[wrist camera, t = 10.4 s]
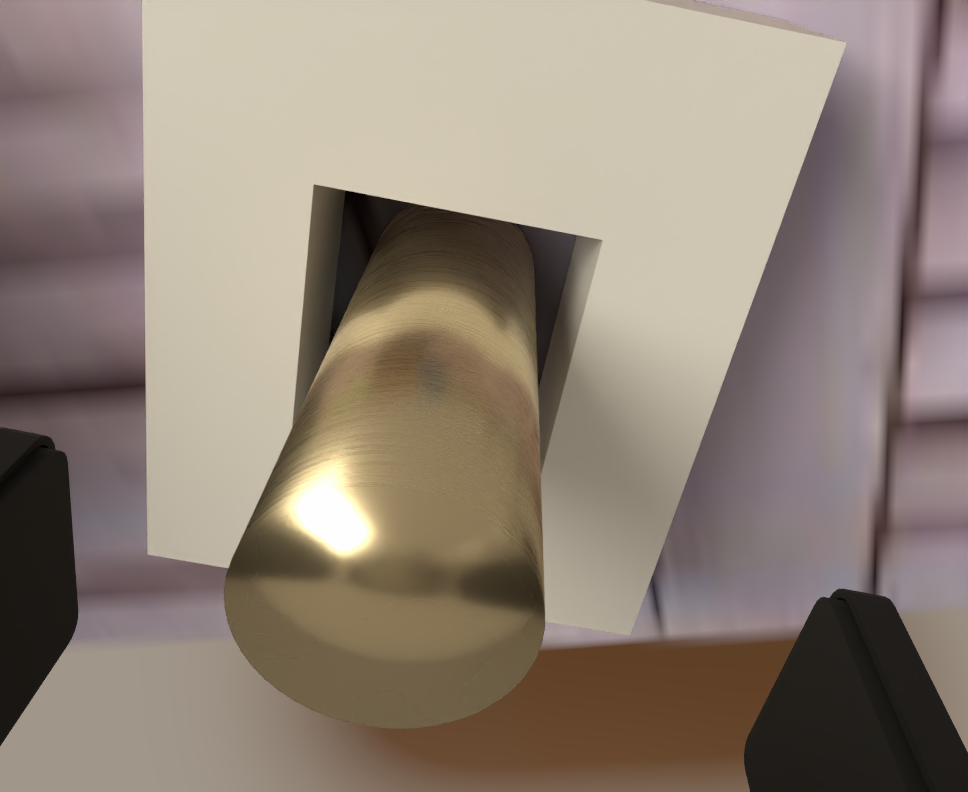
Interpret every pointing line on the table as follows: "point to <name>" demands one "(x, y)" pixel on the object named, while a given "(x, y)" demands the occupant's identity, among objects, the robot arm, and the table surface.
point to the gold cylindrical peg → (408, 491)
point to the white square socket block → (477, 191)
